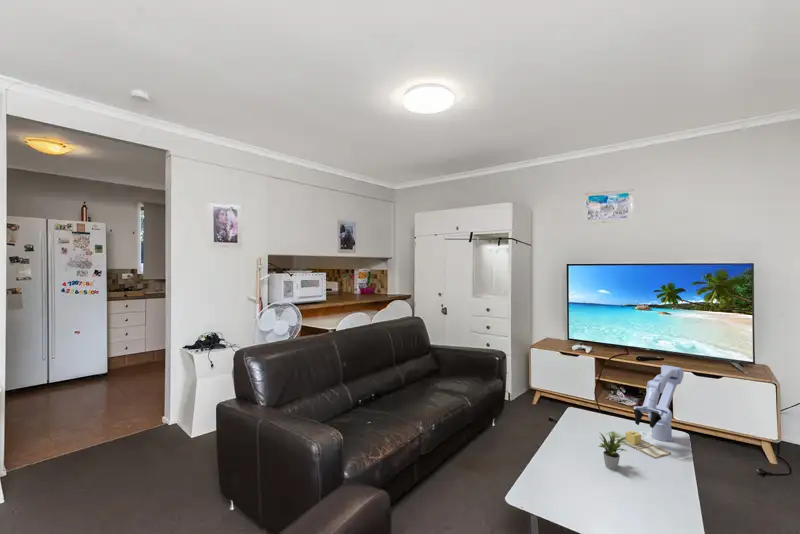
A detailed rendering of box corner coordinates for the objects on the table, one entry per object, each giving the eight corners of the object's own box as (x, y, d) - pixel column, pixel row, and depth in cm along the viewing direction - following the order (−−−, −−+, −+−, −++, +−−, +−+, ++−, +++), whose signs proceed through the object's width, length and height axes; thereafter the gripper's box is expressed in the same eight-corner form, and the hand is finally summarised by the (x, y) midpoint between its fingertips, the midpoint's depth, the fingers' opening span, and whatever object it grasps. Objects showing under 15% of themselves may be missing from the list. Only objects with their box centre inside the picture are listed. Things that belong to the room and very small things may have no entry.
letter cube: (632, 439, 213) (632, 430, 213) (641, 443, 208) (641, 434, 208) (625, 441, 211) (625, 431, 211) (634, 445, 207) (634, 435, 206)
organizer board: (618, 430, 226) (618, 428, 226) (672, 455, 197) (672, 452, 197) (601, 434, 221) (601, 432, 221) (655, 460, 192) (655, 457, 192)
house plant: (635, 478, 177) (635, 442, 176) (602, 474, 179) (602, 439, 179) (623, 462, 191) (624, 429, 190) (593, 459, 193) (593, 426, 193)
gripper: (633, 396, 212) (626, 419, 207) (660, 399, 199) (653, 424, 194) (641, 402, 214) (634, 425, 209) (668, 407, 201) (661, 431, 196)
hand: (643, 425), depth 201 cm, fingers open, 7 cm apart
